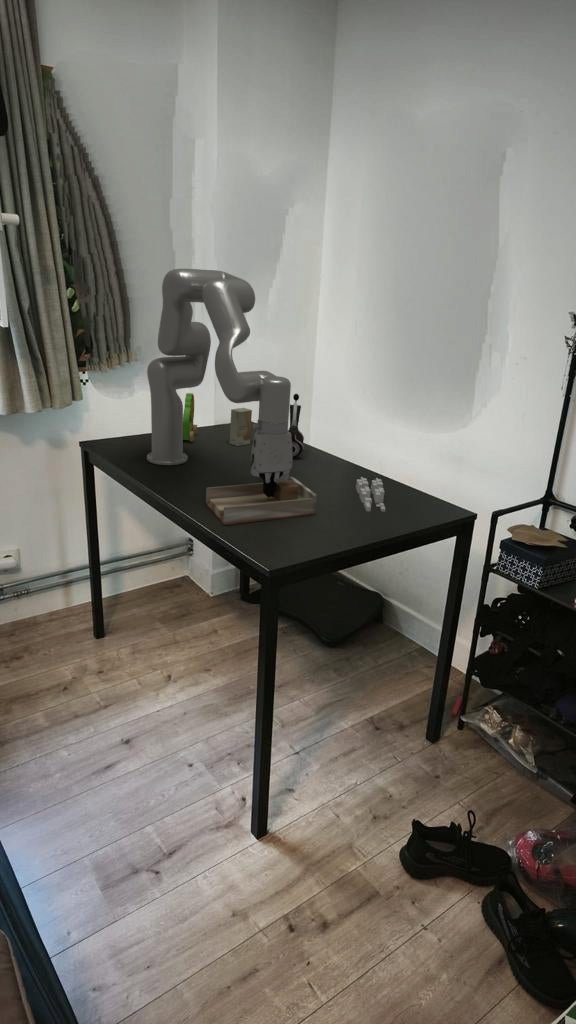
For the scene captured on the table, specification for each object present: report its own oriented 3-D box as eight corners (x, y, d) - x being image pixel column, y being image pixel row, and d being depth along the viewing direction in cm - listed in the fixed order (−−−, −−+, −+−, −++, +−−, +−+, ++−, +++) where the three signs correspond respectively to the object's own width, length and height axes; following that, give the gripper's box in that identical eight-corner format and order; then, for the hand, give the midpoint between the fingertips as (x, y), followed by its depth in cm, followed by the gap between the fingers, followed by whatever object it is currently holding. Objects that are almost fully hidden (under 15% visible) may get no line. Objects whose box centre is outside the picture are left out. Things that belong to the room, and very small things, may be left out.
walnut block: (272, 495, 169) (273, 481, 167) (289, 493, 171) (290, 479, 169) (280, 502, 164) (281, 487, 163) (297, 500, 166) (298, 486, 165)
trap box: (205, 503, 167) (206, 484, 165) (291, 495, 177) (292, 476, 175) (224, 525, 155) (225, 504, 152) (315, 514, 165) (316, 494, 163)
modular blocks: (355, 489, 186) (357, 476, 185) (378, 490, 186) (380, 477, 185) (365, 515, 168) (367, 501, 166) (391, 516, 168) (393, 502, 167)
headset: (281, 446, 222) (285, 390, 214) (303, 447, 222) (307, 392, 214) (279, 460, 206) (283, 400, 199) (302, 462, 206) (307, 402, 199)
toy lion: (193, 443, 217) (194, 399, 212) (177, 442, 217) (177, 398, 211) (198, 431, 232) (199, 390, 226) (183, 430, 232) (183, 389, 226)
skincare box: (237, 446, 217) (238, 411, 212) (228, 443, 220) (230, 409, 215) (251, 443, 222) (252, 409, 217) (242, 441, 224) (244, 407, 220)
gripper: (250, 432, 152) (247, 503, 159) (306, 429, 158) (300, 497, 165) (239, 424, 158) (237, 493, 165) (293, 421, 165) (288, 488, 171)
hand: (269, 495), depth 165 cm, fingers closed
